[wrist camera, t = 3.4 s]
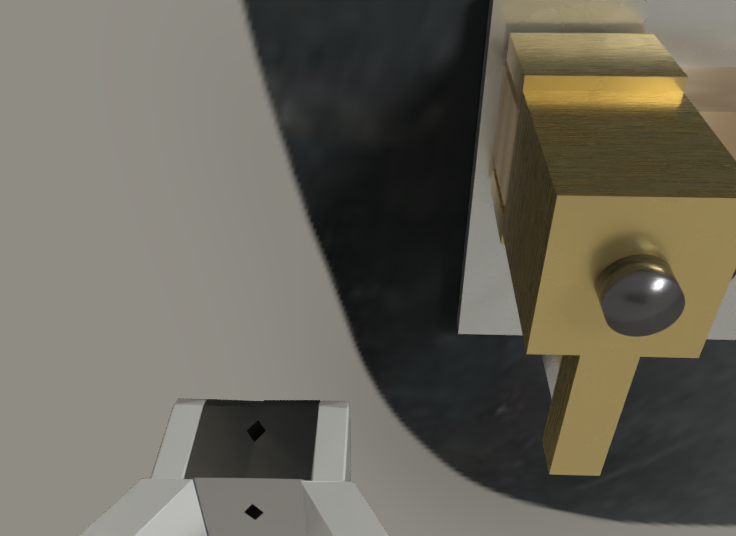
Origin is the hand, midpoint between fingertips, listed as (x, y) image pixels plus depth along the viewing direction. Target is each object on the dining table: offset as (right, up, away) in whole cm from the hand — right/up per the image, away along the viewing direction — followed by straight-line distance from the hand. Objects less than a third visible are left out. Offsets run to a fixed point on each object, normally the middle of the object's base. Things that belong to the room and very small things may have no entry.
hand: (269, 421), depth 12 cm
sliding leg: (+8, +6, +10) cm, 14 cm away
